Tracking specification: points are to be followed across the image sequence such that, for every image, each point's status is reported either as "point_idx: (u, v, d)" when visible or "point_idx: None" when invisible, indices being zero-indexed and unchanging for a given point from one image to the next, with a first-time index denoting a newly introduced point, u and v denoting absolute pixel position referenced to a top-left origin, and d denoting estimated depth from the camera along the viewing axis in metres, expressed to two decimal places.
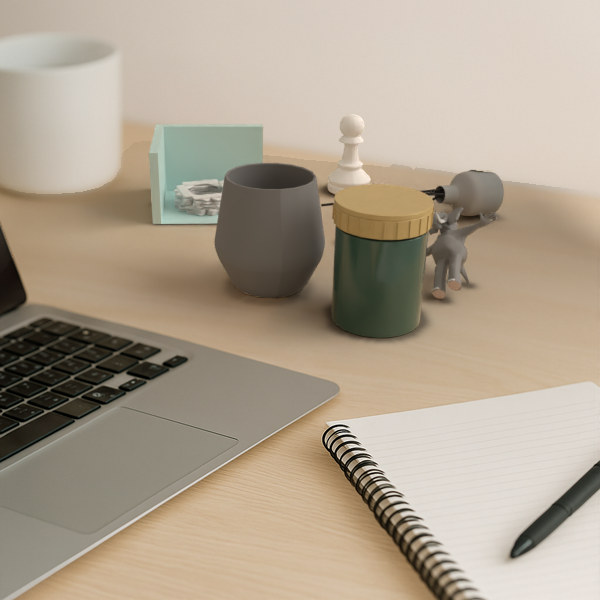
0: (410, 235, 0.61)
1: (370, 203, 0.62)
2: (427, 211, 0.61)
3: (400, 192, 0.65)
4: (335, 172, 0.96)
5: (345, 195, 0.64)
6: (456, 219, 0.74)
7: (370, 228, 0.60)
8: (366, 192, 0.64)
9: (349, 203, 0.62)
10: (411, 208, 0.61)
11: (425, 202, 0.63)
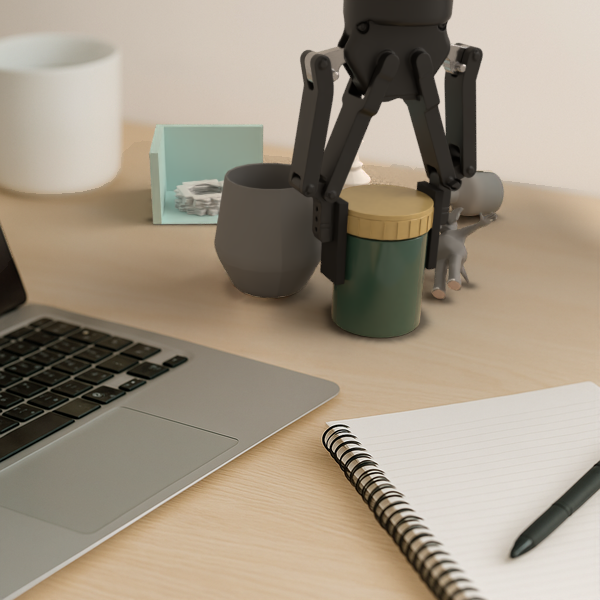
0: (410, 235, 0.61)
1: (370, 203, 0.62)
2: (427, 211, 0.61)
3: (400, 192, 0.65)
4: None
5: (345, 195, 0.64)
6: (456, 219, 0.74)
7: (370, 228, 0.60)
8: (366, 192, 0.64)
9: (349, 203, 0.62)
10: (411, 208, 0.61)
11: (425, 202, 0.63)
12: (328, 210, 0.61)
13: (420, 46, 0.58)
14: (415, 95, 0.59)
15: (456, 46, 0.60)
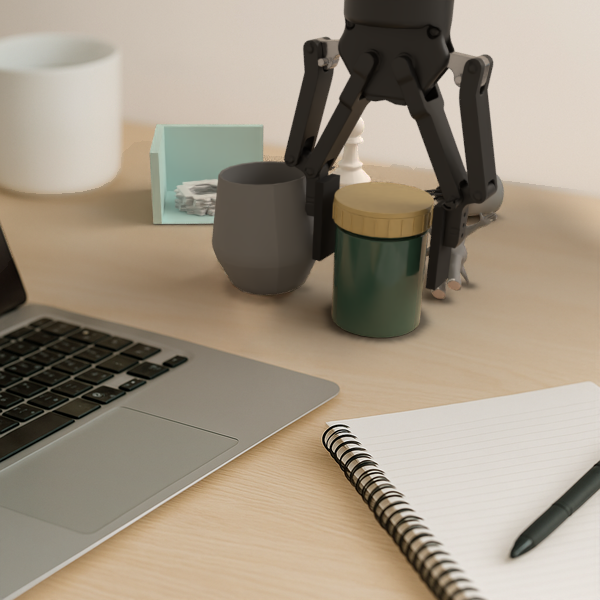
0: None
1: (403, 198, 0.63)
2: None
3: (354, 195, 0.63)
4: (335, 172, 0.96)
5: (402, 209, 0.61)
6: None
7: None
8: (378, 204, 0.61)
9: (419, 204, 0.62)
10: (388, 186, 0.66)
11: (364, 184, 0.66)
12: None
13: None
14: None
15: None
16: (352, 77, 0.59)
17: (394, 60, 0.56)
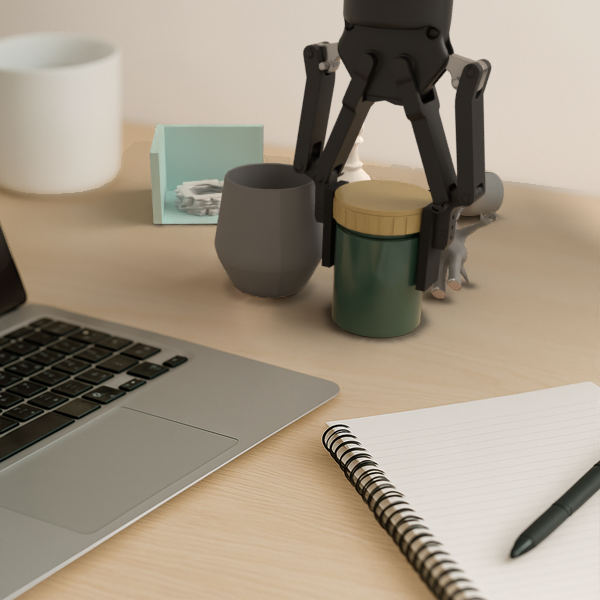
0: (333, 215, 0.63)
1: (374, 188, 0.64)
2: (344, 204, 0.61)
3: (401, 203, 0.61)
4: None
5: (401, 185, 0.65)
6: (456, 219, 0.74)
7: None
8: (407, 192, 0.64)
9: (378, 182, 0.66)
10: (351, 198, 0.62)
11: (365, 205, 0.61)
12: None
13: None
14: None
15: None
16: (353, 79, 0.59)
17: (394, 60, 0.57)
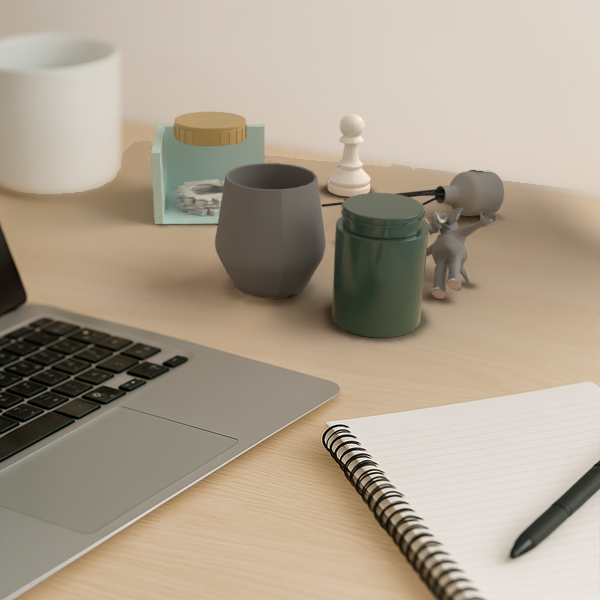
0: (246, 134, 0.89)
1: (214, 122, 0.86)
2: None
3: (201, 115, 0.89)
4: (335, 172, 0.96)
5: (192, 124, 0.85)
6: (456, 219, 0.74)
7: (236, 135, 0.86)
8: (192, 120, 0.87)
9: (209, 126, 0.85)
10: (235, 117, 0.89)
11: (227, 114, 0.90)
12: None
13: None
14: None
15: None
16: None
17: None
